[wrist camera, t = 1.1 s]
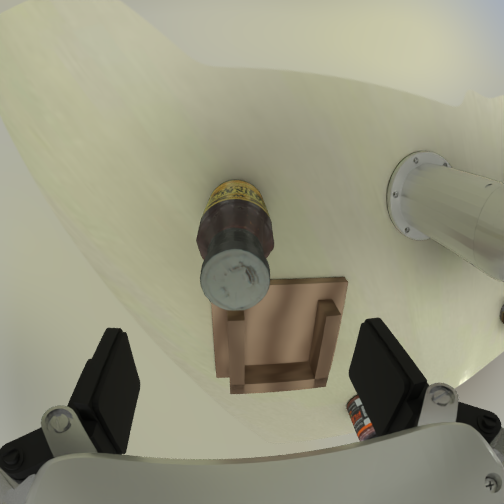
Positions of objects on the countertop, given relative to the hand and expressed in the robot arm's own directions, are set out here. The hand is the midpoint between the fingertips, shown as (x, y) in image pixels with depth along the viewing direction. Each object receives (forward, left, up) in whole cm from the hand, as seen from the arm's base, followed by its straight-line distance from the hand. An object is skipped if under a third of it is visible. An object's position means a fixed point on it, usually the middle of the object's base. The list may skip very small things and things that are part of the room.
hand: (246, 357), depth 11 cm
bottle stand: (-6, +18, -26) cm, 32 cm away
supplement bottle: (-24, +38, -26) cm, 52 cm away
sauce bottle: (0, 0, -26) cm, 26 cm away
